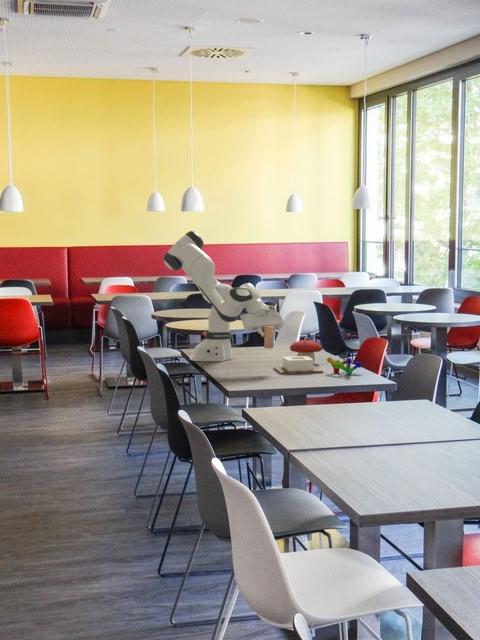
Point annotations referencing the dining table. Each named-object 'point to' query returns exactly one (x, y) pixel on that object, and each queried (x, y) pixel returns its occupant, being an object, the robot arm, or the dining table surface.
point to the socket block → (298, 363)
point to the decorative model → (340, 365)
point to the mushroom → (306, 347)
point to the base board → (284, 371)
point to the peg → (268, 337)
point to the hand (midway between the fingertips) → (269, 335)
